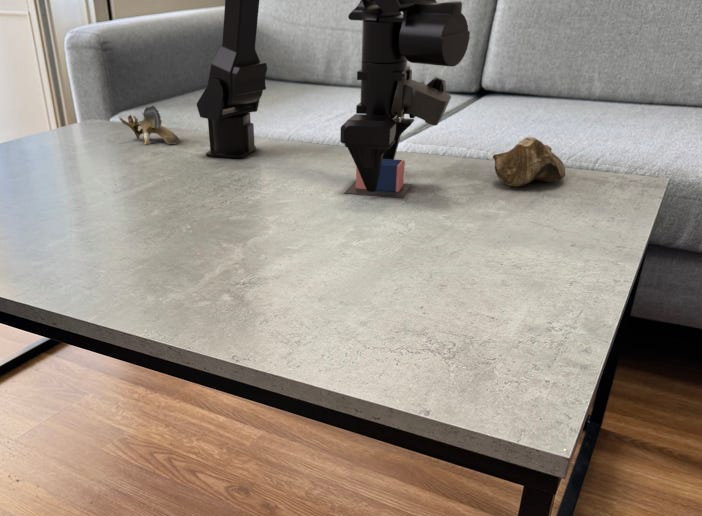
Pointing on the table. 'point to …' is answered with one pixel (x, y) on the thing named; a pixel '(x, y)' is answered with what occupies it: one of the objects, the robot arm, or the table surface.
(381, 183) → the eraser
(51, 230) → the table surface
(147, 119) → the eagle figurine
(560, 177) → the fossilized seashell
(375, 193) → the dark brown rectangular plate
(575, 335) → the table surface
